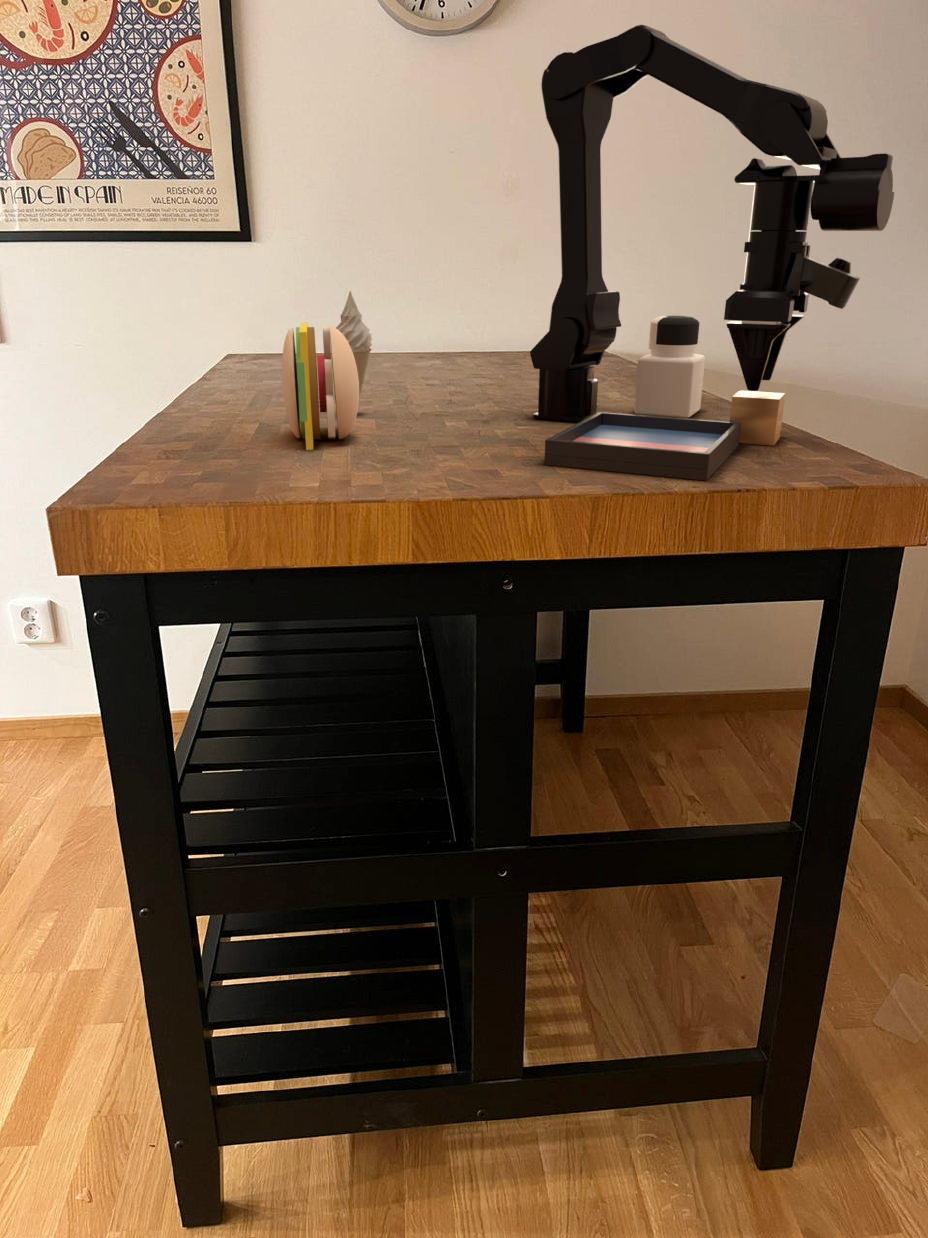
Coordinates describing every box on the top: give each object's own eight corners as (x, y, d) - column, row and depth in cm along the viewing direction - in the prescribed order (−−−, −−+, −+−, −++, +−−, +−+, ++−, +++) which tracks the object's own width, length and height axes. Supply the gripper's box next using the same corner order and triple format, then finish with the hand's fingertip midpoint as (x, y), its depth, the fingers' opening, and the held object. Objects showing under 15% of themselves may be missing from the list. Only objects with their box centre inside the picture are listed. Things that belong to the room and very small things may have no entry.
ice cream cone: (367, 418, 116) (362, 291, 110) (328, 417, 117) (322, 291, 111) (378, 412, 121) (375, 290, 115) (341, 410, 122) (336, 289, 116)
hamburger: (363, 448, 99) (359, 331, 95) (284, 450, 98) (276, 332, 94) (358, 427, 110) (354, 322, 106) (287, 429, 109) (280, 322, 105)
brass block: (727, 442, 103) (732, 396, 101) (734, 434, 107) (739, 390, 105) (773, 445, 101) (779, 399, 99) (779, 437, 105) (785, 393, 104)
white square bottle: (700, 410, 123) (709, 315, 118) (688, 418, 117) (698, 318, 112) (647, 406, 125) (654, 313, 121) (633, 414, 119) (640, 317, 115)
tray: (544, 464, 92) (545, 439, 91) (597, 433, 107) (598, 411, 106) (706, 480, 86) (709, 454, 85) (738, 445, 101) (741, 422, 100)
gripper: (855, 230, 85) (830, 402, 91) (866, 232, 101) (843, 379, 107) (732, 230, 89) (715, 394, 95) (760, 232, 105) (744, 373, 111)
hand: (759, 385), depth 102 cm, fingers open, 9 cm apart
